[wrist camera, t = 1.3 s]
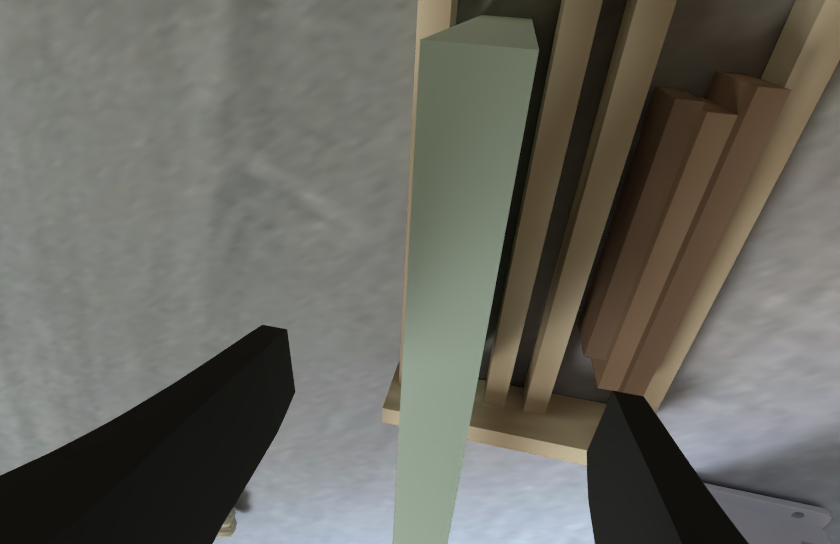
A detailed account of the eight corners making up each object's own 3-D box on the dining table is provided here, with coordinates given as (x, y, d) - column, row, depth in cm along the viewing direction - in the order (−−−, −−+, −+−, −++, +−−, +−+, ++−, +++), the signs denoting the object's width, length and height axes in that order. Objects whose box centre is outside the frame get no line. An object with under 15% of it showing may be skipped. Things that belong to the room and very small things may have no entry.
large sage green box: (531, 18, 14) (539, 50, 6) (475, 347, 22) (443, 565, 13) (481, 14, 14) (420, 38, 6) (443, 341, 22) (391, 552, 14)
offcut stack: (741, 72, 14) (791, 89, 11) (623, 355, 20) (638, 405, 18) (661, 65, 14) (693, 80, 12) (569, 346, 21) (577, 395, 18)
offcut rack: (879, -91, 11) (979, -115, 9) (630, 423, 22) (644, 477, 20) (420, -109, 13) (395, -135, 10) (397, 377, 24) (382, 422, 21)
